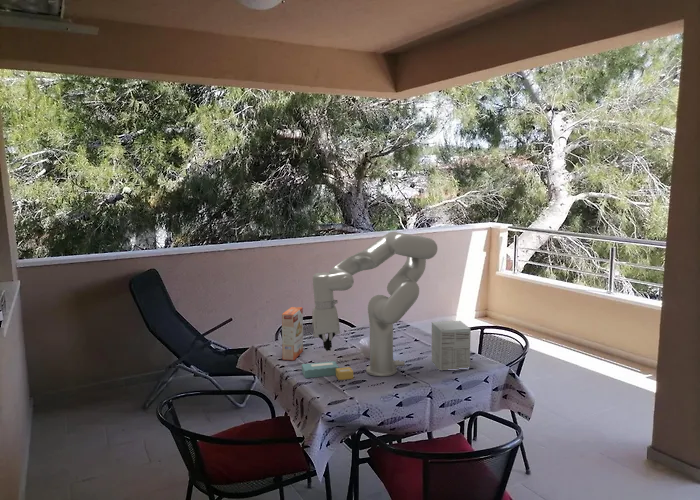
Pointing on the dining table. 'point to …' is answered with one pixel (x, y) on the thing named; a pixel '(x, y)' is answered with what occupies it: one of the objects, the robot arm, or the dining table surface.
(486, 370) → the dining table surface
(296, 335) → the cracker box
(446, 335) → the supplement box
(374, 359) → the robot arm
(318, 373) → the teal labeled router
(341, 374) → the yellow labeled box
